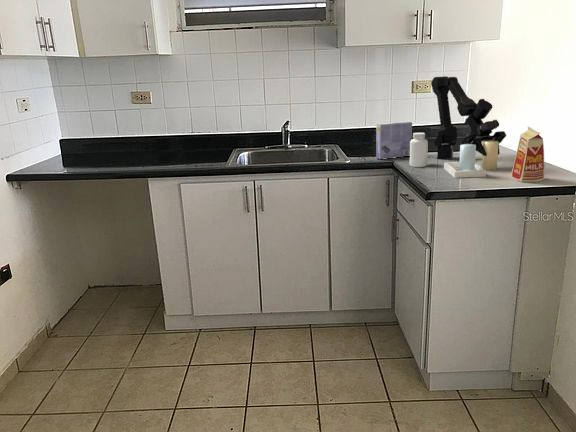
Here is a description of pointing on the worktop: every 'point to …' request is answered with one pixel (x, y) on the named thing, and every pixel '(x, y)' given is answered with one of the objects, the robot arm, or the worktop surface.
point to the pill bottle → (418, 150)
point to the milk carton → (529, 158)
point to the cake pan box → (393, 140)
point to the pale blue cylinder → (467, 157)
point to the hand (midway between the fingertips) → (492, 154)
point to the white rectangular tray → (454, 171)
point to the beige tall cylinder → (490, 155)
